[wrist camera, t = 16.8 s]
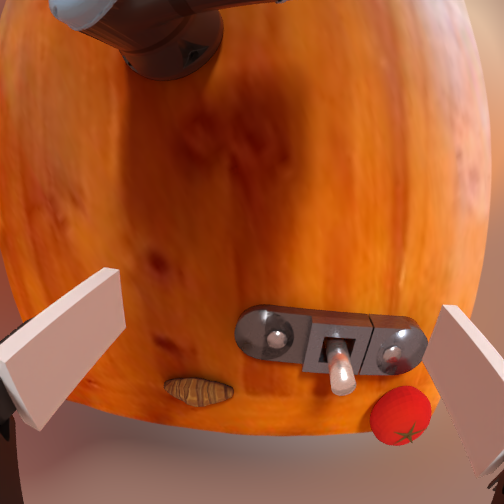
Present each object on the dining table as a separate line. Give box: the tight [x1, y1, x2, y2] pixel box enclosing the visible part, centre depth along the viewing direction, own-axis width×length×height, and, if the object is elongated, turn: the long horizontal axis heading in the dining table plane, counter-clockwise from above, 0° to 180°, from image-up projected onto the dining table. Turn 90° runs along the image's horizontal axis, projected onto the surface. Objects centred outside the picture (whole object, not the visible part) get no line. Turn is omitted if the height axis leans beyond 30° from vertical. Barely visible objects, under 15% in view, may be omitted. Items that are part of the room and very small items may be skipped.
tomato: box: [370, 386, 431, 446], centre depth 44 cm, size 12×12×10 cm
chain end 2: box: [302, 314, 428, 375], centre depth 43 cm, size 20×9×5 cm, turn 86°
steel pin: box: [324, 337, 356, 396], centre depth 40 cm, size 3×3×12 cm
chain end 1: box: [235, 305, 370, 364], centre depth 45 cm, size 20×9×3 cm, turn 86°
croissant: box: [164, 377, 234, 407], centre depth 50 cm, size 14×7×5 cm, turn 93°
